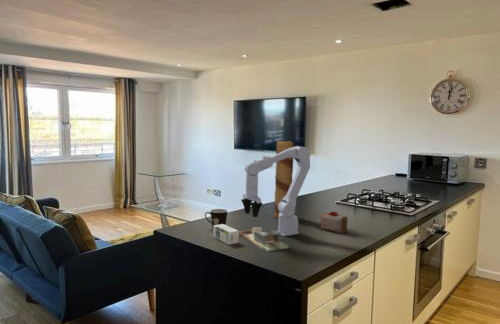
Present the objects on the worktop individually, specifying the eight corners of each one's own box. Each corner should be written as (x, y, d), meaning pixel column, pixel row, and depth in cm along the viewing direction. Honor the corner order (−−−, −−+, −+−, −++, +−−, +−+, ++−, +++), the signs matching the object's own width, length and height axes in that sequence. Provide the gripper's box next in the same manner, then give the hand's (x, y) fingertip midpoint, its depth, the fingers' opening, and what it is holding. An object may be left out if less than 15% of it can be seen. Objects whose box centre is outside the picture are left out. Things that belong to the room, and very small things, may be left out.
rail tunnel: (257, 231, 181) (257, 220, 181) (288, 247, 158) (289, 235, 157) (237, 234, 176) (237, 223, 176) (267, 251, 152) (267, 238, 152)
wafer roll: (286, 214, 220) (289, 140, 216) (294, 218, 210) (296, 141, 206) (271, 215, 217) (272, 140, 213) (277, 219, 207) (279, 141, 203)
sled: (260, 234, 172) (260, 226, 172) (274, 241, 162) (274, 233, 162) (251, 236, 170) (251, 227, 170) (264, 243, 160) (265, 234, 159)
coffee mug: (230, 230, 183) (231, 211, 182) (217, 233, 177) (217, 213, 176) (216, 225, 191) (216, 207, 190) (203, 228, 185) (203, 209, 184)
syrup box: (228, 245, 160) (212, 236, 171) (239, 242, 163) (222, 234, 175) (228, 232, 159) (212, 225, 171) (239, 230, 162) (223, 223, 174)
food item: (317, 229, 188) (318, 210, 188) (325, 226, 194) (326, 208, 194) (341, 234, 180) (342, 215, 179) (348, 231, 186) (349, 212, 185)
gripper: (237, 185, 178) (237, 212, 179) (252, 190, 165) (251, 219, 166) (250, 184, 181) (249, 211, 182) (265, 189, 169) (264, 217, 170)
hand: (251, 215), depth 175 cm, fingers open, 7 cm apart
